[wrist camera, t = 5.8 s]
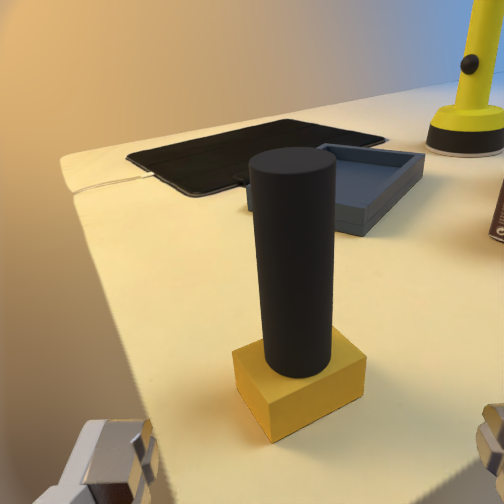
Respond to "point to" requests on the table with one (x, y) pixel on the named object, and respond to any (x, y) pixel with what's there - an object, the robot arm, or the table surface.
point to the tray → (368, 184)
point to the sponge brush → (296, 296)
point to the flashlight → (473, 93)
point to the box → (498, 218)
